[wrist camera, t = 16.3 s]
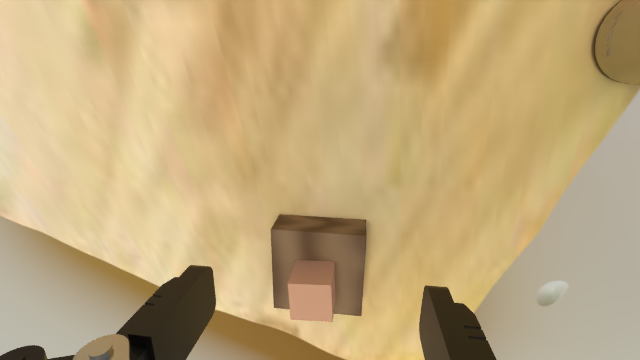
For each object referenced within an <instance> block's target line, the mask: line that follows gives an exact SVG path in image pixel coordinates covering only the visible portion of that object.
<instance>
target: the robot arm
mask: <svg viewBox="0 0 640 360" xmlns="http://www.w3.org/2000/svg"><path fill="white" fill-rule="evenodd" d="M595 54H596V59H597V62H598V65H599V66H600V68H601V69H602V71H603V72H604V73H605V74H606V75H607V76H608V77H610V78H611V79H614V80H616V81H618V82H622V83H627V84H640V0H622V1H621V2H619V3H618V4H617V5H616V6H615V7H614V8H613V9H612V10H611V11H610V13H609V14H608V15H607V16H606V18H605V19H604V21H603V23H602V24H601V26H600V29H599V31H598V34H597V37H596V43H595ZM215 305H216V297H215V287H214V278H213V270H212V268H211V267H208V266H196V265H190V266H189V267H188V268H187V269H186V270H185V271H184V272H183V273H182V275H181V276H180V277H175V278H173V279H171V280H170V281H168V282H166V283H165V284H163V285H162V286H161V287H160V288H159V289H158V290H157V291H156V292H155V293H154V294H153V296H152V297H150V298H149V299H148V300H147V301H146V302H145V305H143V306H142V307H141V308H140V309H139V310H138V311H137V312H136V313H135V314H134V315H133V316H132V317H131V318H130V320H128V321H127V322H126V323H125V325H124V326H123V327H122V328H121V329H120V330H119V331H118V332H117V333H116V334H111V335H107V336H103V337H100V338H97V339H96V340H93V341H91V342H90V343H88V344H87V345H85V346H84V347H83V348H81V349H80V350H79V351H78V352H77V353H76V355H71V356H65V357H58V358H52V359H47V357H46V353H45V351H44V349H43V348H42V347H40V346H35V345H34V346H33V345H32V346H25V347H20V348H17V349H15V350H12V351H9V352H7V353H5V354H3V355H1V356H0V360H186V358H187V357H188V355H189V353H190V352H191V350H192V349H193V347H194V345H195V344H196V342H197V340H198V339H199V337H200V335H201V334H202V332H203V331H204V329H205V327H206V326H207V324H208V322H209V321H210V319H211V318H212V316H213V313H214V310H215ZM419 331H420V340H421V344H422V349H423V353H424V357H425V360H496V358H495V356H494V354H493V352H492V350H491V347H490V345H489V343H488V341H486V337H485V335H484V333H483V331H482V330H481V326H480V324H479V322H478V320H477V318H476V316H475V314H474V313H473V312H472V311H471V310H470V309H469V308H468V307H467V306H466V305H465V304H461V303H454V301H453V299H452V296H451V294H450V291H449V289H448V288H447V287H437V286H425V287H424V292H423V299H422V307H421V314H420V323H419Z"/></svg>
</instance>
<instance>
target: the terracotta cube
mask: <svg viewBox="0 0 640 360" xmlns="http://www.w3.org/2000/svg"><path fill="white" fill-rule="evenodd" d="M288 293H289V305H290V316H291V320H309V321H328V322H332V321H333V313H334V305H335V296H336V288H335V261H307V260H296V262H295V265H294V267H293V270H292V273H291V276H290V279H289V281H288Z"/></svg>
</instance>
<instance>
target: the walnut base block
mask: <svg viewBox="0 0 640 360" xmlns="http://www.w3.org/2000/svg"><path fill="white" fill-rule="evenodd" d="M271 246H272V272H273V297H274V308H282V309H290V305H289V293H288V281H289V279H290V276H291V273H292V270H293V267H294V265H295V262H296V260H307V261H335V288H336V296H335V305H334V314H344V315H354V316H361V312H362V297H363V281H364V266H365V250H366V220H357V219H342V218H326V217H310V216H294V215H279V216H278V218H277V220H276V222H275V223H274V225H273V227H272V228H271Z"/></svg>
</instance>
